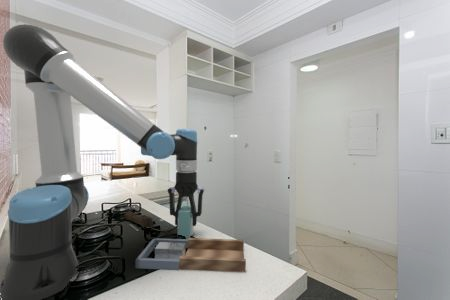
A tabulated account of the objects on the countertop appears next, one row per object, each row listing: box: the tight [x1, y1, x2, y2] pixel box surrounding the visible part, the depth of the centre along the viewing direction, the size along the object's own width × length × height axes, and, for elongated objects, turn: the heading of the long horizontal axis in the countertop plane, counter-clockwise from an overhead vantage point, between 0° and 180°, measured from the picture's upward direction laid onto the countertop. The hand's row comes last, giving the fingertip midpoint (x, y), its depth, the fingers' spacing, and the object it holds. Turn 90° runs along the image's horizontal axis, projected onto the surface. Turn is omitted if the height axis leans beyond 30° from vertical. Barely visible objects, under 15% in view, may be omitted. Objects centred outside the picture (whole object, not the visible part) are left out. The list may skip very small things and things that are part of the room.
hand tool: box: [123, 210, 154, 229], centre depth 91 cm, size 19×4×5 cm, turn 51°
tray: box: [135, 237, 188, 271], centre depth 64 cm, size 12×13×4 cm
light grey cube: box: [169, 243, 186, 260], centre depth 64 cm, size 4×4×4 cm
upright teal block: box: [177, 205, 192, 240], centre depth 79 cm, size 4×7×10 cm, turn 178°
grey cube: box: [154, 242, 172, 259], centre depth 64 cm, size 4×4×4 cm
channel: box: [179, 237, 247, 273], centre depth 64 cm, size 18×12×4 cm
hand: (185, 233), depth 79 cm, fingers closed on upright teal block, 4 cm apart
